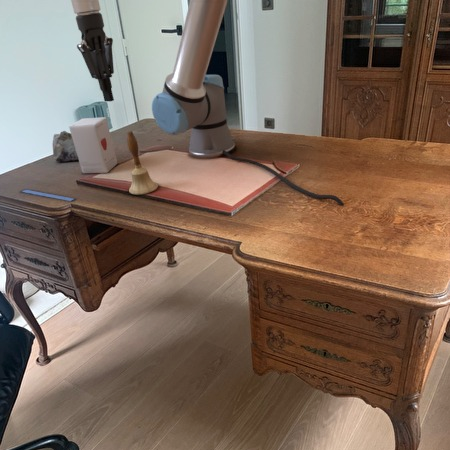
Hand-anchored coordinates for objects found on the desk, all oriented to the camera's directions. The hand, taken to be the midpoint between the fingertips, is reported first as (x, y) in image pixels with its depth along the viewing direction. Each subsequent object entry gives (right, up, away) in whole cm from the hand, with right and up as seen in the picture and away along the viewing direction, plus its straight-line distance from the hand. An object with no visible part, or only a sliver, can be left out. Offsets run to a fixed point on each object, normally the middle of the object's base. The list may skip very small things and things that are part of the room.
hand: (109, 100), depth 141 cm
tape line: (-15, -33, -11) cm, 38 cm away
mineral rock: (-16, -15, +14) cm, 26 cm away
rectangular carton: (-4, -21, +4) cm, 22 cm away
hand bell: (+14, -32, -15) cm, 38 cm away
